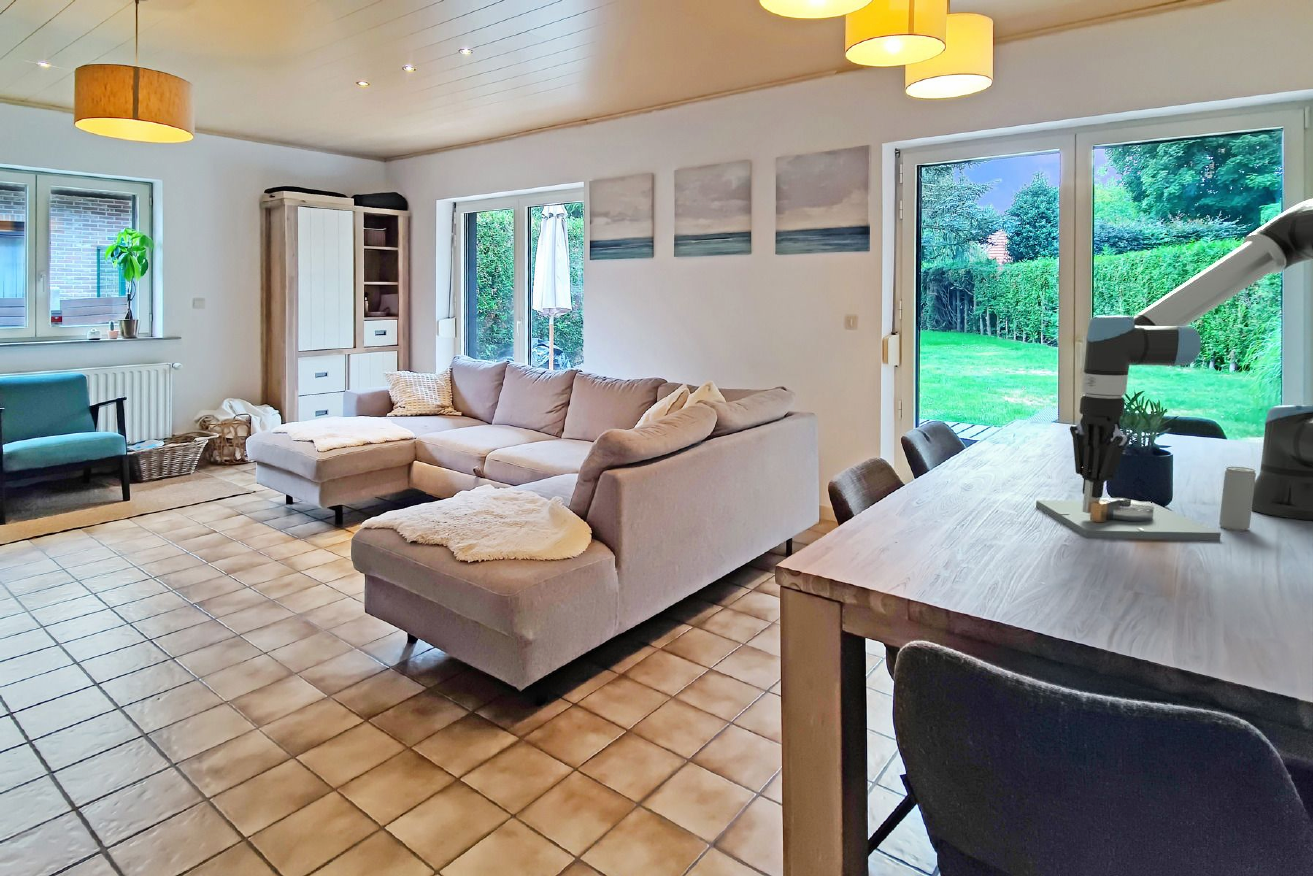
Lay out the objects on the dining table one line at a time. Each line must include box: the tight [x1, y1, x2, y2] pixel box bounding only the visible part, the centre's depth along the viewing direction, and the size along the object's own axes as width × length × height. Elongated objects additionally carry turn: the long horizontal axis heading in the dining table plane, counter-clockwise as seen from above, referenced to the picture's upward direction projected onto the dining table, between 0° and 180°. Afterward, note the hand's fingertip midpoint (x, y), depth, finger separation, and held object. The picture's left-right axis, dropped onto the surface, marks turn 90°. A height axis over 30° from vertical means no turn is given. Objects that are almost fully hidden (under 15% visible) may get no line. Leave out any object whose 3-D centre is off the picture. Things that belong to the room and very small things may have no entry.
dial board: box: [1035, 499, 1222, 541], centre depth 155 cm, size 24×24×2 cm
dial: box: [1090, 497, 1154, 522], centre depth 153 cm, size 16×11×4 cm
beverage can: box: [1218, 466, 1257, 532], centre depth 149 cm, size 5×5×12 cm
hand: (1090, 511), depth 152 cm, fingers closed
